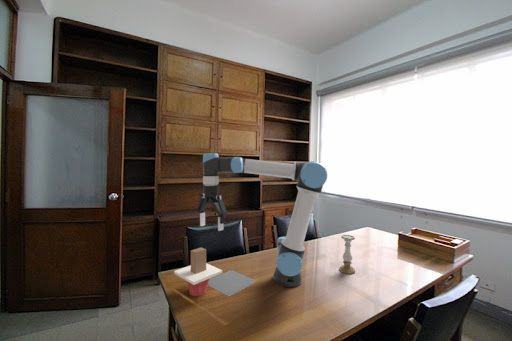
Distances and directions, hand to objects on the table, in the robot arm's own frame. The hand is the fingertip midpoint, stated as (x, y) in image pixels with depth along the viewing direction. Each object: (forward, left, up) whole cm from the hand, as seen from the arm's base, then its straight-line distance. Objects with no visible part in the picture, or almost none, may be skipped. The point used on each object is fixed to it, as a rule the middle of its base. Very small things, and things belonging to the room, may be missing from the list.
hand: (211, 227), depth 121 cm
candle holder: (-42, -67, -30) cm, 85 cm away
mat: (-3, -10, -30) cm, 32 cm away
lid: (+1, +7, -21) cm, 22 cm away
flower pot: (+1, +7, -31) cm, 31 cm away
